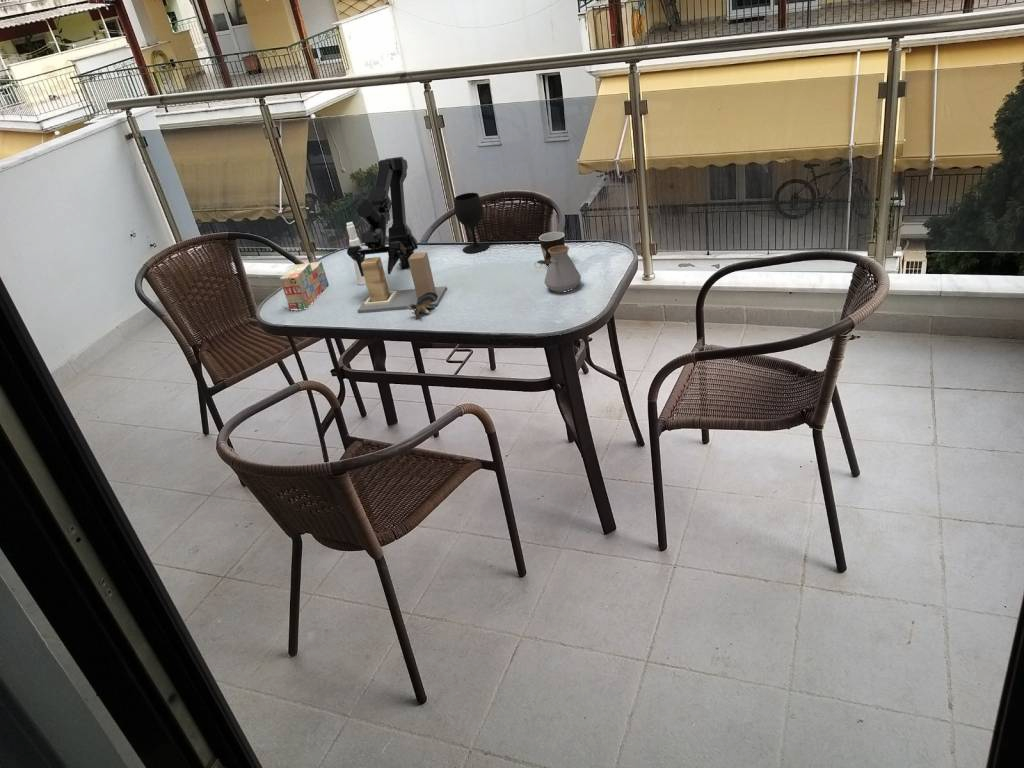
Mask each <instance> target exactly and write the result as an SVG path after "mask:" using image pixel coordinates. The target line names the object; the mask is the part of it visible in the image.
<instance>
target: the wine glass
mask: <svg viewBox="0 0 1024 768" xmlns="http://www.w3.org/2000/svg"><path fill="white" fill-rule="evenodd" d="M453 201H454V203H453V207H454V209H453V210H454V214H455V216H456V218H457V220H458V222H459V223H460V224H462V225H463V226H464V227H466V228H469V229H470V231H471V234H472V239H473V243H471V244H468V245H467V246H464V247H463V248H462V252H463V253H465V254H468V255H469V254H471V255H473V254H479V252H480V253H483V252H485V251H487V250H488V248H489V249H490V247H491V246H490V245H491V244H489V243H488V244H483V243H484V242H478V241H477V237H476V231H475V229H476V227H478V225H479V223H480V222H481V220H482V218H483V215H484V205H483V203H482V200H481V197H480V195H479V194H478V193H477V192H467V193H466V192H465V193H462V194H459V195H457V196H455V197H454V200H453ZM489 246H490V247H489ZM486 249H487V250H486ZM482 251H483V252H482Z"/></svg>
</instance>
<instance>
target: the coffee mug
mask: <svg viewBox="0 0 1024 768" xmlns="http://www.w3.org/2000/svg"><path fill="white" fill-rule="evenodd" d="M538 239H539V240H538V241H539V246H540V248H541V252H542V256H543V260H549V261H550V259H551V255H550V253H549V252H548V249H549V248H552V247H555V246H562V245H563V246H566V245H565V243H566V242H565V233H564V232H561V231H552V232H551V231H550V232H546V233H543V234H541V235H540V236H539V237H538ZM546 265H547V266H549V264H545V266H546ZM547 266H546V267H547Z"/></svg>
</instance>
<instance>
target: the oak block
mask: <svg viewBox="0 0 1024 768" xmlns="http://www.w3.org/2000/svg"><path fill="white" fill-rule="evenodd" d="M365 258H366V259H365V260H364V261H363V262H362V263H361V266H362V270H363V273H364V277H365V281H366V288H367V291H368V296H370V299H371V302H378V301H387V300H388V299H389V298H390V293H389V291H390V290H389V286H388V281H387V277H386V274H385V270H384V266H383V263H382V258H381V256H375V257H365Z"/></svg>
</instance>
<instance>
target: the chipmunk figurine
mask: <svg viewBox="0 0 1024 768" xmlns="http://www.w3.org/2000/svg"><path fill="white" fill-rule="evenodd" d="M437 298H438V295H437V294H435V293H434V292H428V293H426V294H424V295H422V296H421V297H419V298H418V300H417V304H416V305H415V304H413V303H410V304H408V305H407V308H408V309H407V310H410V311H412V310H413V311H414V312H411V314H414V315H415V319H416V320H417V319H418V318H419V317H420V313H426V314H427V315H429V316H430V315H431V313H430V312H431V311H429V310H428V309H435V308H436V307H430V306H428V305H429V304H431V303H432V302H435V301H436V300H437Z"/></svg>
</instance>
